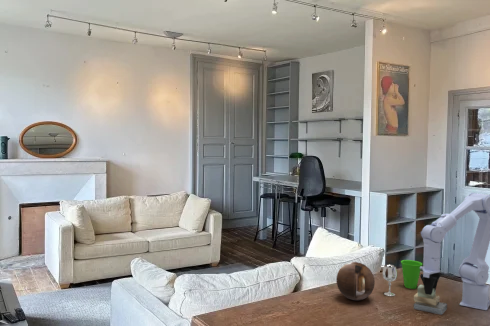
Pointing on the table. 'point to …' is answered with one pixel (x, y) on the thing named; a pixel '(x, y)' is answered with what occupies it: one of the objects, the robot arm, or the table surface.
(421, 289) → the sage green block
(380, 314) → the table surface
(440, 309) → the dock
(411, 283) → the cup
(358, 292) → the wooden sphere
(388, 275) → the wineglass
